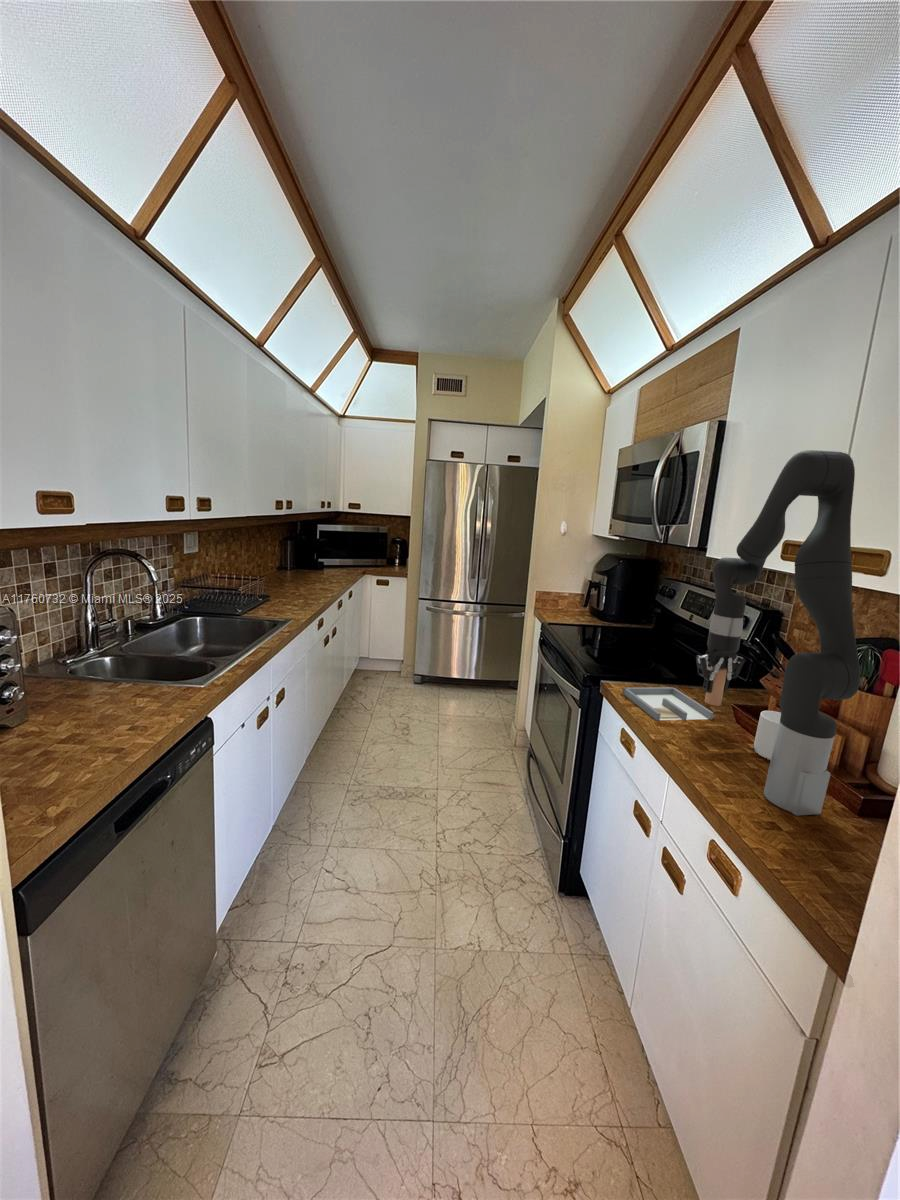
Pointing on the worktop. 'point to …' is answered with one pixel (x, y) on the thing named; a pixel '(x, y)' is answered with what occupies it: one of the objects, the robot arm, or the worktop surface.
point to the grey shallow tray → (667, 703)
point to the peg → (717, 688)
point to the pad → (666, 713)
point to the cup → (766, 733)
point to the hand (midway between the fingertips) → (714, 691)
